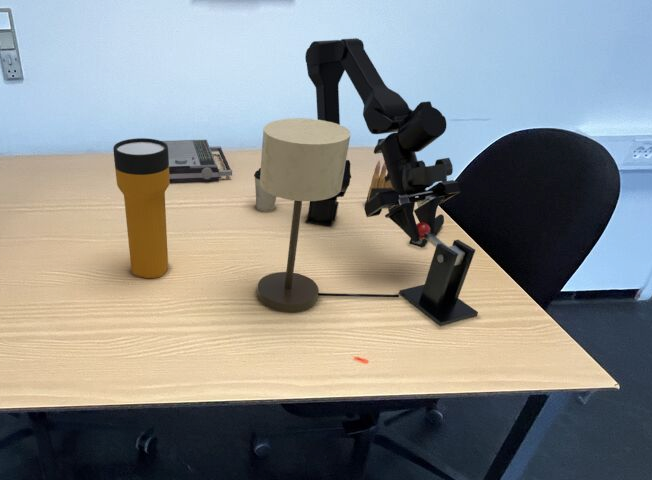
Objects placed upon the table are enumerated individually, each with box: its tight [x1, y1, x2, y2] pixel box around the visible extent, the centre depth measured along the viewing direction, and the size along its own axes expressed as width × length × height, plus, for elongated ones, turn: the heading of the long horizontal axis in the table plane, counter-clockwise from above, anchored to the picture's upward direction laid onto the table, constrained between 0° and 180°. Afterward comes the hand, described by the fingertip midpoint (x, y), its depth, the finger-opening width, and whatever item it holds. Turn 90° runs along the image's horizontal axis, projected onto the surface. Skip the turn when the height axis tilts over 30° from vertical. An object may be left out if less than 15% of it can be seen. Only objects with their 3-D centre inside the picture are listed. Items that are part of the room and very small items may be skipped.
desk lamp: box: [256, 117, 400, 314], centre depth 94 cm, size 29×14×32 cm, turn 89°
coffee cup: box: [253, 167, 277, 213], centre depth 134 cm, size 7×7×10 cm
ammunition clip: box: [365, 159, 393, 203], centre depth 136 cm, size 11×2×12 cm, turn 93°
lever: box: [416, 222, 465, 266], centre depth 98 cm, size 12×3×3 cm, turn 23°
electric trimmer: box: [409, 214, 445, 248], centre depth 125 cm, size 4×16×3 cm, turn 142°
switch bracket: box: [398, 239, 479, 327], centre depth 98 cm, size 12×9×13 cm
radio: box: [161, 139, 233, 184], centre depth 158 cm, size 24×5×20 cm
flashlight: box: [112, 137, 170, 279], centre depth 103 cm, size 10×26×10 cm
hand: (424, 240), depth 101 cm, fingers closed on lever, 3 cm apart
